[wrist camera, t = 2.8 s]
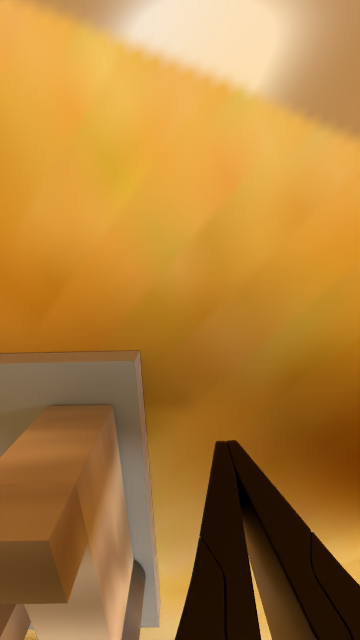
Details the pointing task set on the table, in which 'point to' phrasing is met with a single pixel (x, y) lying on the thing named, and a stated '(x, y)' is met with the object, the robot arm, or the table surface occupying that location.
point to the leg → (69, 528)
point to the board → (128, 404)
